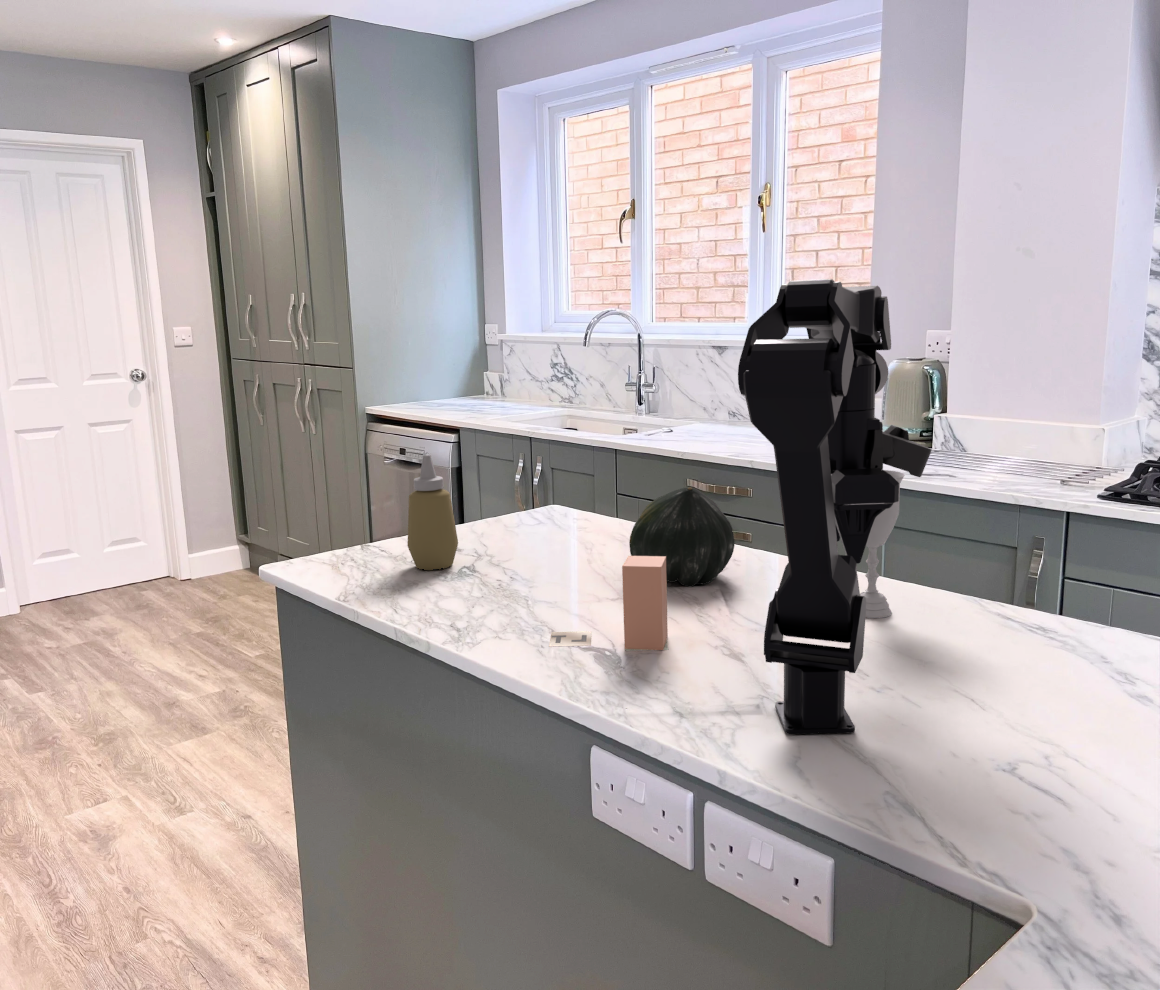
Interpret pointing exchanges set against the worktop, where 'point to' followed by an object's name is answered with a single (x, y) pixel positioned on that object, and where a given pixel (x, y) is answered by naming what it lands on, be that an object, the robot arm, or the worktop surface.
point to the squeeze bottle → (431, 521)
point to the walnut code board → (578, 639)
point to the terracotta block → (645, 602)
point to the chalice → (877, 537)
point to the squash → (685, 536)
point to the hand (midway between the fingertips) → (844, 551)
